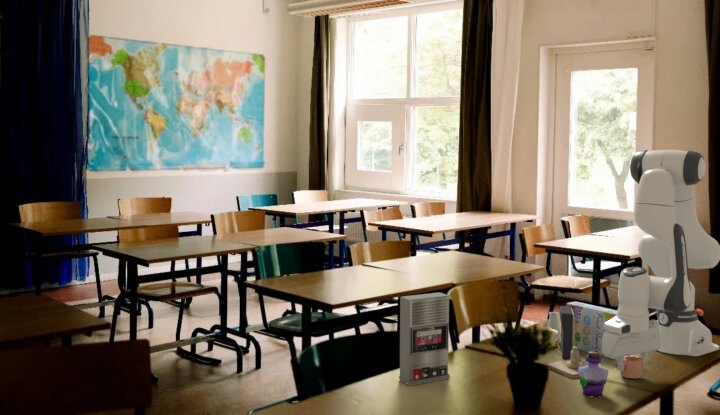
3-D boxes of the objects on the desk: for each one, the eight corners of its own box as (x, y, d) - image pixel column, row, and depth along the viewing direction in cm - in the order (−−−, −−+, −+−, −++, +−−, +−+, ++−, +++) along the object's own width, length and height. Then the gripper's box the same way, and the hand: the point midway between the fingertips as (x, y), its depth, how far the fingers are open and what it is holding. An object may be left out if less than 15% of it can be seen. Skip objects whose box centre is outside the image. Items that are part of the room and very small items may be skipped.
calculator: (574, 360, 245) (575, 314, 243) (560, 359, 245) (561, 313, 244) (571, 350, 255) (573, 306, 254) (558, 349, 256) (559, 305, 255)
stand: (576, 362, 242) (576, 340, 241) (603, 373, 231) (604, 349, 230) (545, 367, 237) (546, 344, 236) (572, 378, 226) (573, 354, 225)
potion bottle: (570, 394, 212) (572, 352, 211) (584, 386, 219) (586, 345, 217) (600, 401, 206) (602, 358, 205) (613, 393, 213) (615, 351, 212)
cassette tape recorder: (409, 386, 219) (410, 300, 216) (399, 380, 224) (399, 296, 222) (450, 379, 225) (451, 296, 223) (438, 373, 230) (439, 292, 228)
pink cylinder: (631, 370, 231) (631, 354, 230) (646, 376, 226) (646, 359, 225) (615, 373, 228) (616, 357, 228) (631, 379, 223) (631, 362, 222)
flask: (564, 339, 269) (565, 311, 268) (562, 344, 262) (563, 316, 261) (543, 337, 271) (543, 310, 270) (540, 342, 265) (541, 314, 264)
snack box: (626, 358, 247) (628, 312, 246) (615, 360, 244) (617, 314, 242) (574, 343, 265) (575, 300, 263) (563, 345, 261) (564, 302, 260)
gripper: (650, 316, 233) (648, 360, 234) (599, 324, 224) (597, 370, 225) (666, 321, 227) (665, 366, 228) (614, 329, 218) (613, 376, 220)
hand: (631, 368), depth 227 cm, fingers closed on pink cylinder, 6 cm apart
